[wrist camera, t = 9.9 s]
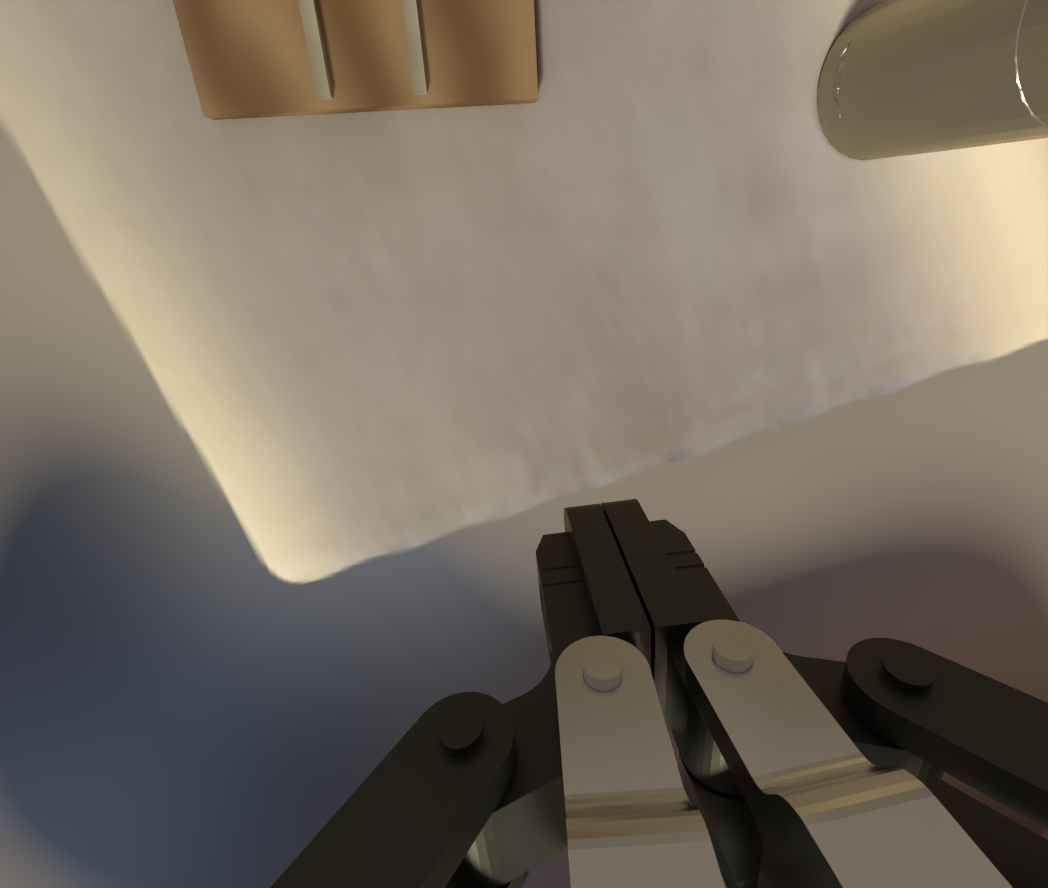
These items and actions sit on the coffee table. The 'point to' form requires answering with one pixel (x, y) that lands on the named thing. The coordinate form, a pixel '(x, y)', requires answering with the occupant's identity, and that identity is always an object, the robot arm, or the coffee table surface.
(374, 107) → the plate
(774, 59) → the coffee table surface
